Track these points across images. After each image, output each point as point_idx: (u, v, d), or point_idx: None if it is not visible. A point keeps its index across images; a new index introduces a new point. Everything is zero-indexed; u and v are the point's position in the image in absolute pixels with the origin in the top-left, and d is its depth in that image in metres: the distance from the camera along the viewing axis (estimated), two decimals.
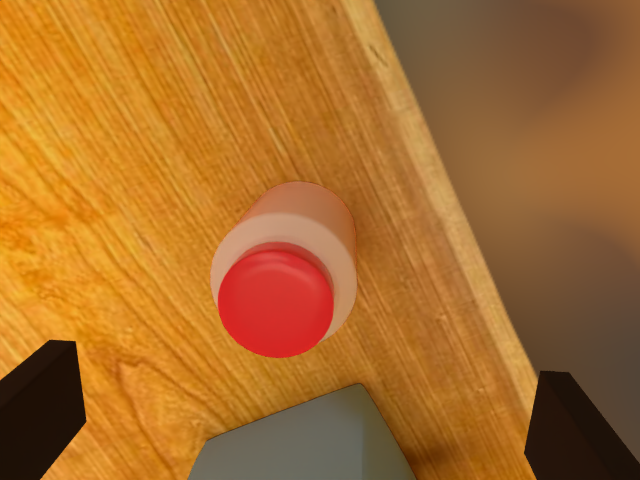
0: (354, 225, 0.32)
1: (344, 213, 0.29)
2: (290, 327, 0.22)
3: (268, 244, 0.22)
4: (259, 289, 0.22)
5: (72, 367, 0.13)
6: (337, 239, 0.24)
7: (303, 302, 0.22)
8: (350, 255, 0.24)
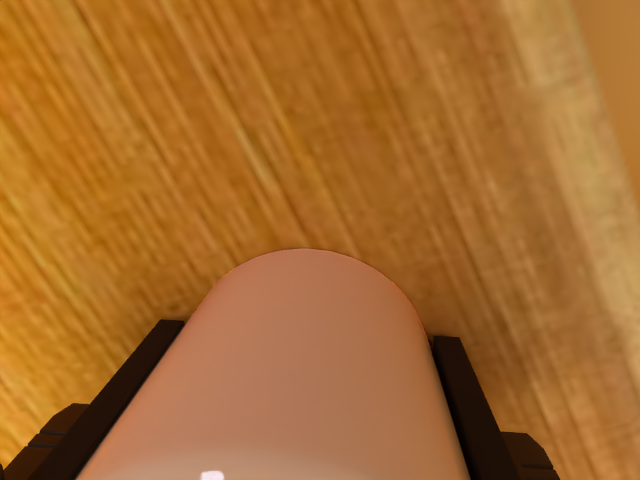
0: None
1: (418, 337, 0.12)
2: None
3: None
4: None
5: None
6: None
7: None
8: None
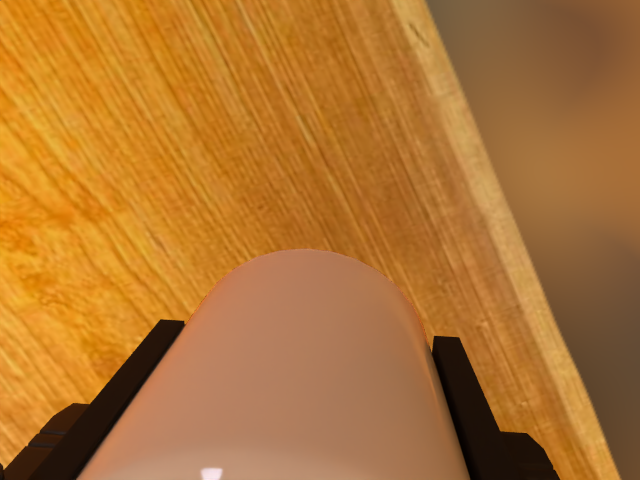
0: None
1: (418, 337, 0.12)
2: None
3: None
4: None
5: None
6: None
7: None
8: None
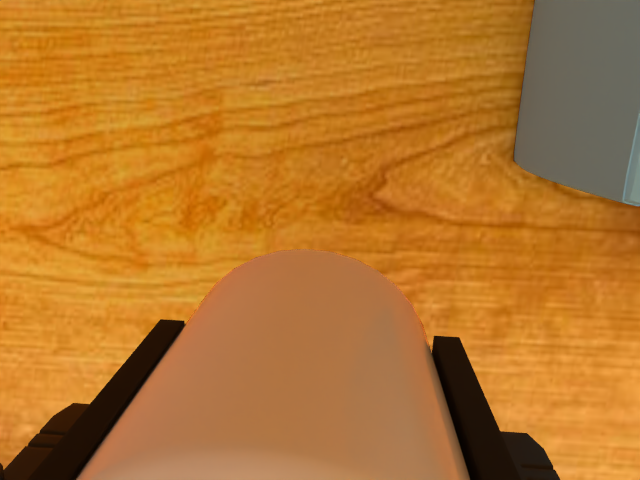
0: None
1: (418, 338, 0.12)
2: None
3: None
4: None
5: None
6: None
7: None
8: None
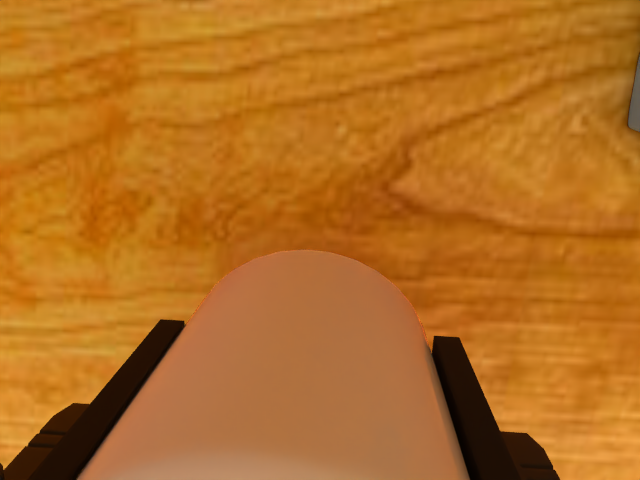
0: None
1: (418, 338, 0.12)
2: None
3: None
4: None
5: None
6: None
7: None
8: None
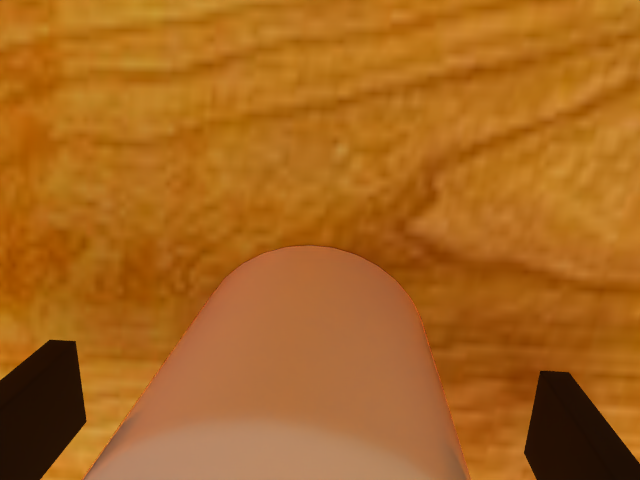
0: None
1: (416, 328, 0.13)
2: None
3: None
4: None
5: (73, 367, 0.13)
6: None
7: None
8: None
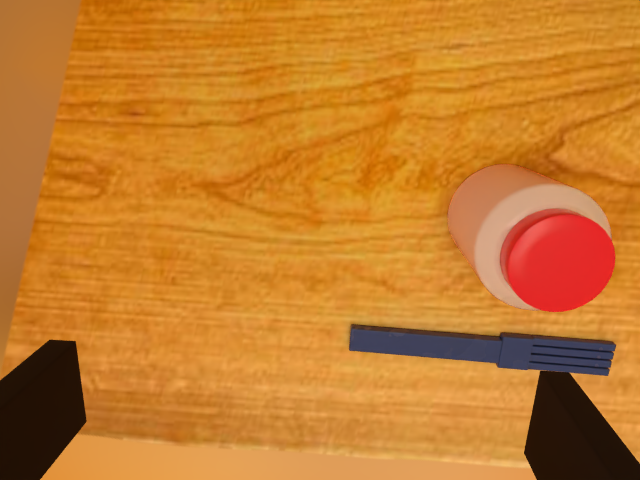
0: None
1: None
2: (571, 284, 0.25)
3: (553, 210, 0.25)
4: (550, 248, 0.25)
5: (73, 367, 0.13)
6: (600, 209, 0.27)
7: (588, 261, 0.25)
8: None
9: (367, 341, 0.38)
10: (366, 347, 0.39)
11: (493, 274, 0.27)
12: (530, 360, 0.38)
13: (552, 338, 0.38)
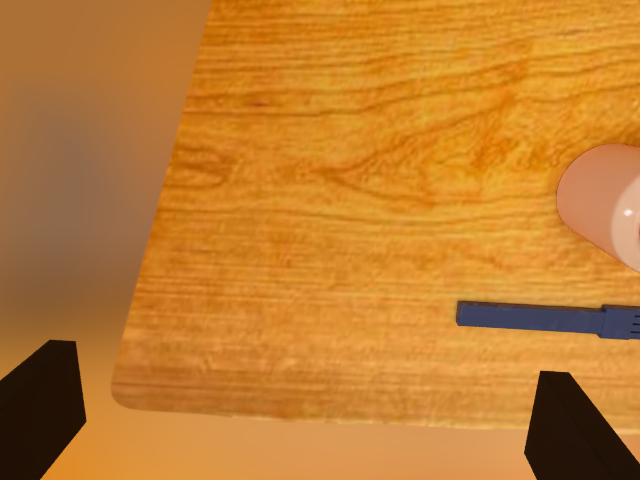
0: None
1: None
2: None
3: None
4: None
5: (73, 367, 0.13)
6: None
7: None
8: None
9: (475, 316, 0.41)
10: (474, 322, 0.41)
11: (630, 244, 0.29)
12: (631, 330, 0.40)
13: None
